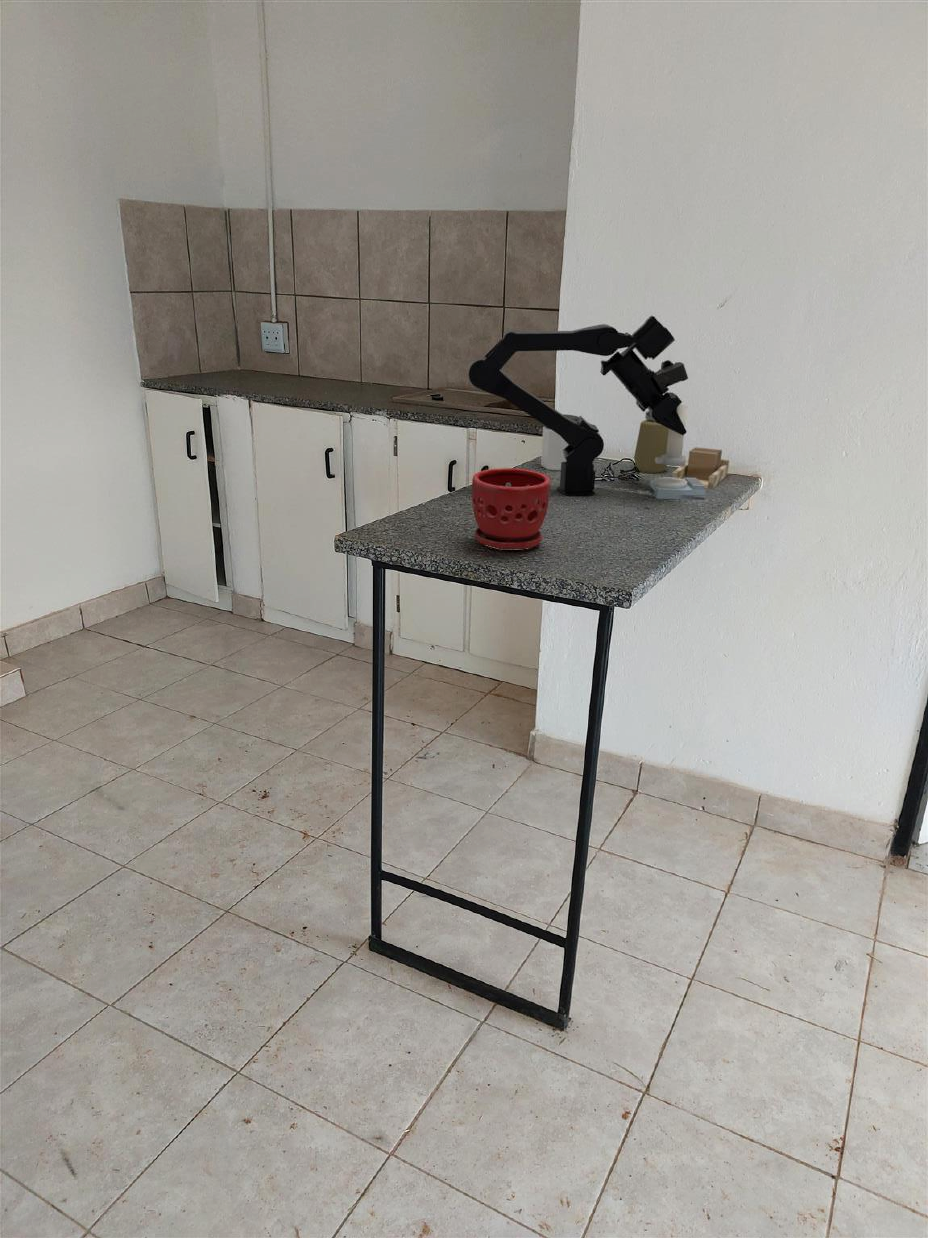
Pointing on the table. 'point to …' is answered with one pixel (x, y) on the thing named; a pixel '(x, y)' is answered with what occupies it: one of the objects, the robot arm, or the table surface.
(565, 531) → the table surface
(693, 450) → the box
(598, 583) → the table surface
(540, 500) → the plant pot
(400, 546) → the table surface
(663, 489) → the grey socket base
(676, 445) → the crank handle
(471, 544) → the table surface
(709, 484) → the bay
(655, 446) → the squeeze bottle
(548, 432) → the jar
